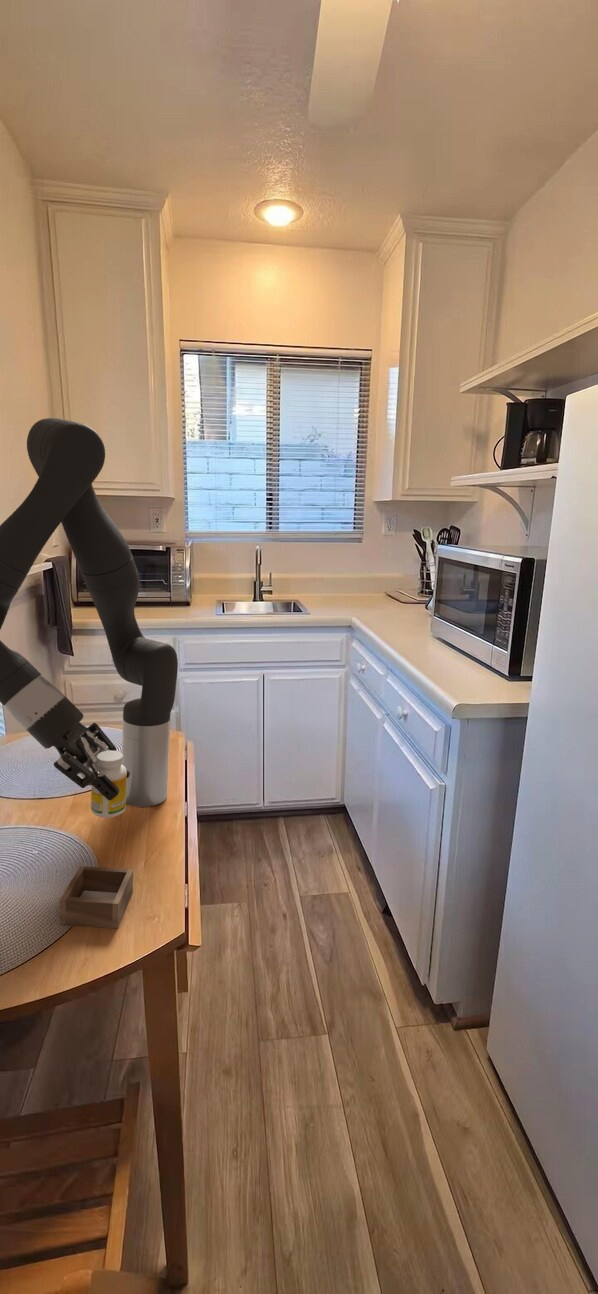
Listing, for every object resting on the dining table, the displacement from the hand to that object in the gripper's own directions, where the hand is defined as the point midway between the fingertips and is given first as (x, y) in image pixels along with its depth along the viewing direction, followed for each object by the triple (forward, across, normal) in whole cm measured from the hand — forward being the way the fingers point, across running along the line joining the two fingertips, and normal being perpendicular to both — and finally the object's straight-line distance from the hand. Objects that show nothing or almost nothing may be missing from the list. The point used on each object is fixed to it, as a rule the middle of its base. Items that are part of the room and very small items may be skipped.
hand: (120, 786), depth 95 cm
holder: (+10, -10, +10) cm, 18 cm away
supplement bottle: (+2, 0, +4) cm, 5 cm away
